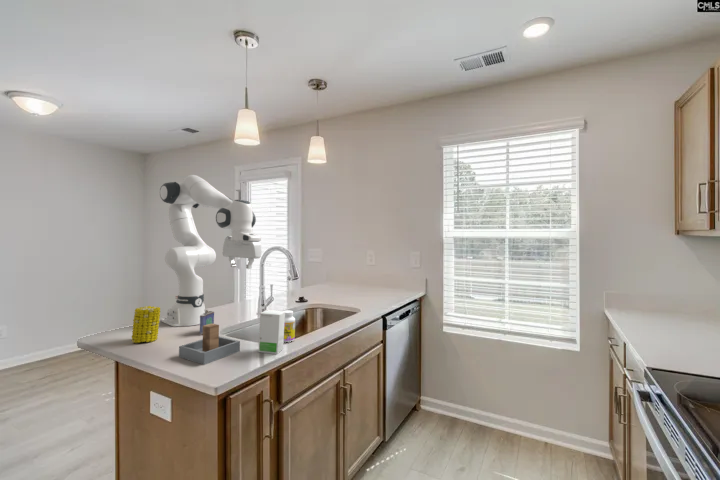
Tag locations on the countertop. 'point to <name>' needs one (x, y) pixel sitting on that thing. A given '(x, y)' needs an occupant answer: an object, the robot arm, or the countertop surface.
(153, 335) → the food
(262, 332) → the skincare box
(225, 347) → the bin
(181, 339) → the countertop surface
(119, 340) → the countertop surface
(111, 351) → the countertop surface
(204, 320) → the flask
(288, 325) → the supplement bottle
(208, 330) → the block
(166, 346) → the countertop surface
